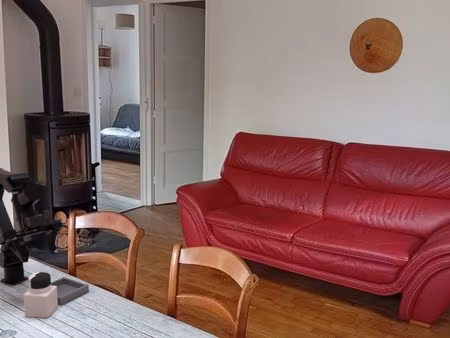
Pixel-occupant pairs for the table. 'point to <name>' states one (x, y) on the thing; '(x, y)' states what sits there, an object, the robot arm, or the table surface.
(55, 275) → the table surface
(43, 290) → the medicine bottle
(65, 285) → the charcoal tray
